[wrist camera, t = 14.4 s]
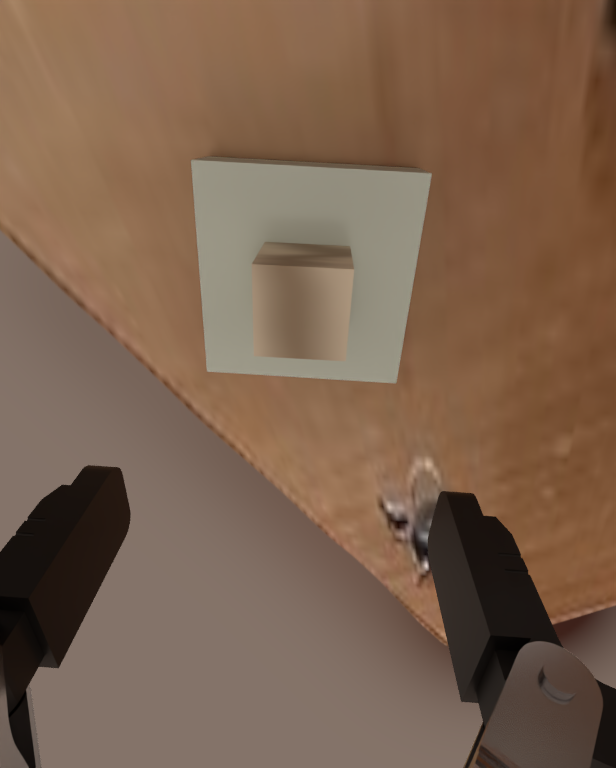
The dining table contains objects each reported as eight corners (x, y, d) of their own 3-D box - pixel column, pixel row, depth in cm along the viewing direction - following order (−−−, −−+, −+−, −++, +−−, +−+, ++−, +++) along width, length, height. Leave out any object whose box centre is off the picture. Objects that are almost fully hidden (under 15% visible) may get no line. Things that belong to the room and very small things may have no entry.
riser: (418, 168, 27) (432, 173, 24) (389, 357, 34) (396, 383, 30) (208, 156, 27) (190, 159, 24) (219, 346, 34) (207, 371, 30)
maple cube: (350, 246, 26) (354, 269, 21) (343, 326, 28) (345, 361, 24) (264, 241, 26) (251, 264, 21) (265, 321, 28) (253, 356, 24)
